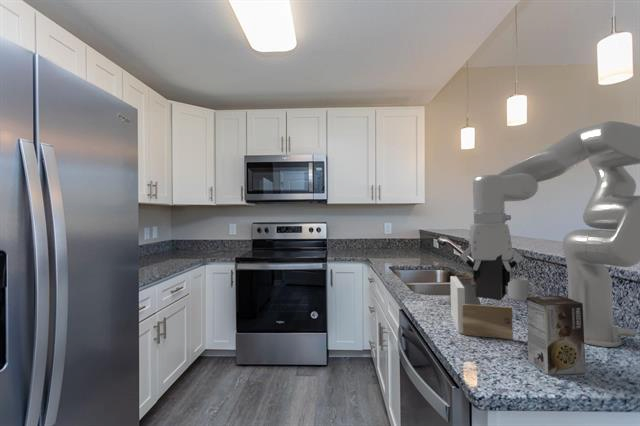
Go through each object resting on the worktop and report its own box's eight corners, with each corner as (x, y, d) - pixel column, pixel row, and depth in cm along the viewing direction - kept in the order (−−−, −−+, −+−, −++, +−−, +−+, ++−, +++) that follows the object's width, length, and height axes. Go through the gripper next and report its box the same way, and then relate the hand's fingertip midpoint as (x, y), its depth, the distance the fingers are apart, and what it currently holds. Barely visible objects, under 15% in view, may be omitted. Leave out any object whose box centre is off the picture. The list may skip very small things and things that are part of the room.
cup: (510, 295, 132) (509, 275, 132) (537, 299, 125) (537, 278, 125) (506, 299, 126) (506, 278, 126) (535, 303, 119) (534, 281, 120)
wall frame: (457, 314, 108) (456, 276, 108) (465, 333, 90) (464, 288, 91) (451, 314, 108) (450, 276, 108) (458, 333, 91) (457, 287, 91)
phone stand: (500, 300, 77) (499, 254, 77) (475, 297, 81) (474, 253, 81) (507, 293, 83) (505, 250, 84) (483, 290, 87) (482, 249, 88)
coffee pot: (444, 311, 112) (443, 271, 112) (452, 303, 121) (451, 267, 121) (511, 323, 99) (510, 278, 99) (514, 313, 108) (513, 272, 108)
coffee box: (562, 360, 73) (560, 295, 74) (586, 374, 67) (584, 302, 67) (526, 361, 73) (525, 296, 73) (548, 375, 66) (546, 303, 67)
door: (462, 333, 90) (462, 303, 90) (511, 337, 86) (510, 307, 86) (463, 335, 88) (463, 305, 88) (513, 340, 84) (513, 309, 84)
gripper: (520, 218, 83) (522, 282, 83) (453, 220, 88) (455, 280, 88) (530, 219, 76) (532, 289, 76) (457, 220, 81) (459, 286, 81)
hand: (491, 283), depth 82 cm, fingers closed on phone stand, 6 cm apart
